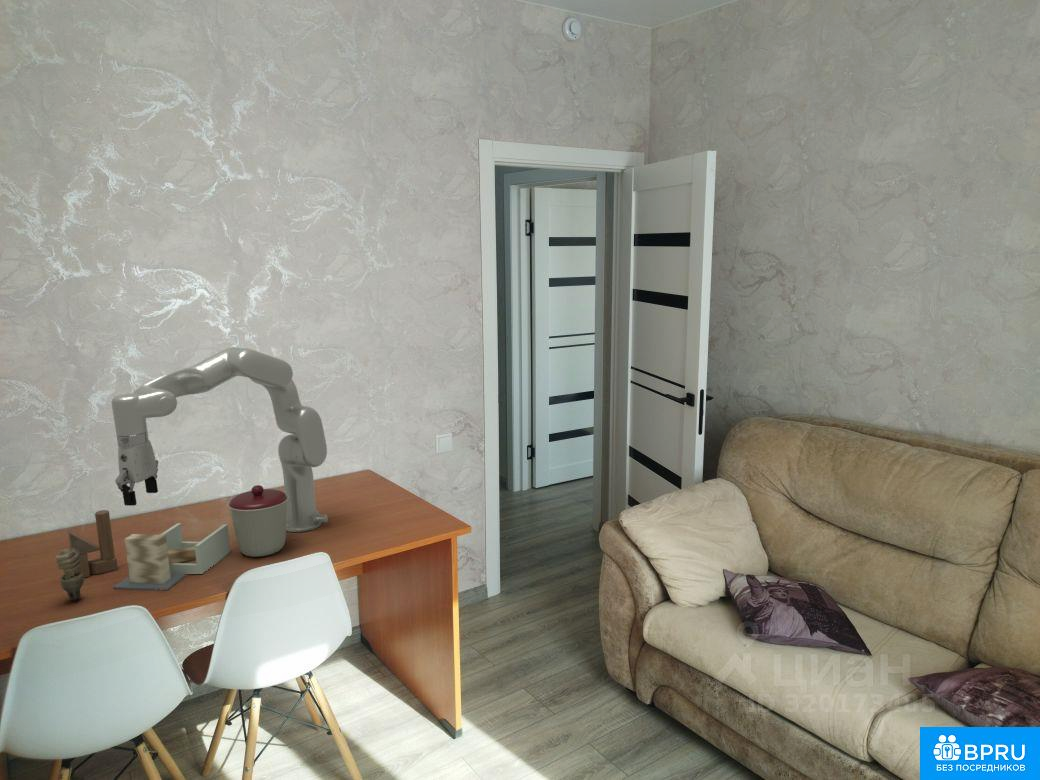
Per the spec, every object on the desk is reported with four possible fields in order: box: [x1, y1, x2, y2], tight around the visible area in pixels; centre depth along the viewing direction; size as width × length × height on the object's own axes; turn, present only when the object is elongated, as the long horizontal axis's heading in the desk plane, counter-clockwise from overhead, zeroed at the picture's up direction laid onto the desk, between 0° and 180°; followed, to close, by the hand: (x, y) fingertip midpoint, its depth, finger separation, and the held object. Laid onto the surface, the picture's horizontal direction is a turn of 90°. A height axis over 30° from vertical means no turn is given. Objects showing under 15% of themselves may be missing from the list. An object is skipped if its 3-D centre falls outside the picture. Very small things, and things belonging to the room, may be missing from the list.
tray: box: [159, 522, 231, 575], centre depth 219 cm, size 16×17×9 cm
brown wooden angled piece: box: [67, 509, 119, 579], centre depth 212 cm, size 4×11×18 cm, turn 129°
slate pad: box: [112, 574, 187, 591], centre depth 206 cm, size 16×9×1 cm, turn 84°
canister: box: [226, 484, 289, 558], centre depth 225 cm, size 18×18×21 cm
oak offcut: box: [168, 547, 196, 564], centre depth 215 cm, size 10×4×3 cm, turn 126°
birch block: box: [124, 533, 171, 584], centre depth 205 cm, size 10×4×13 cm, turn 83°
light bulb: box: [55, 547, 85, 602], centre depth 195 cm, size 6×6×15 cm
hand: (141, 498), depth 202 cm, fingers open, 9 cm apart
